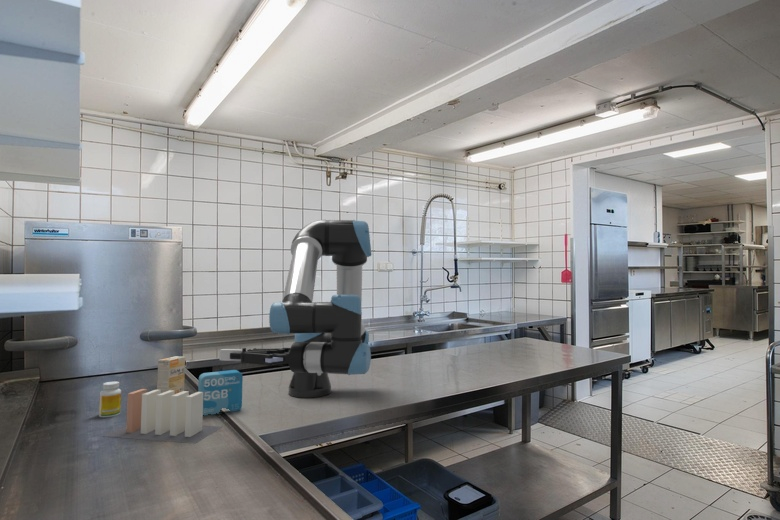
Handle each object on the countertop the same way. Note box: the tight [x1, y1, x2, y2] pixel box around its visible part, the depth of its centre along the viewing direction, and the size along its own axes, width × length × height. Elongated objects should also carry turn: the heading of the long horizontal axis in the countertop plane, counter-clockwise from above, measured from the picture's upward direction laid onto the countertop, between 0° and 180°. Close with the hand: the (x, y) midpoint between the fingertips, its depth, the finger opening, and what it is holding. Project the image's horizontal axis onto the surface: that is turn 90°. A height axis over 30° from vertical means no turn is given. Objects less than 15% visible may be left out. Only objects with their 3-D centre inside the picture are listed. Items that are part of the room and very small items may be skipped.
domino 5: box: [185, 391, 204, 437], centre depth 111 cm, size 2×5×10 cm, turn 171°
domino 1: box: [126, 388, 148, 433], centre depth 114 cm, size 2×5×10 cm, turn 171°
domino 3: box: [155, 390, 175, 435], centre depth 112 cm, size 2×5×10 cm, turn 171°
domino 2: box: [141, 389, 161, 434], centre depth 113 cm, size 2×5×10 cm, turn 171°
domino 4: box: [170, 390, 190, 436], centre depth 112 cm, size 2×5×10 cm, turn 171°
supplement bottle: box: [98, 381, 122, 418], centre depth 126 cm, size 5×5×10 cm
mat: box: [102, 424, 223, 444], centre depth 112 cm, size 26×12×1 cm, turn 81°
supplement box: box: [156, 355, 186, 394], centre depth 148 cm, size 8×5×13 cm, turn 168°
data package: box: [197, 369, 244, 416], centre depth 130 cm, size 12×4×12 cm, turn 123°
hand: (221, 354), depth 110 cm, fingers closed
